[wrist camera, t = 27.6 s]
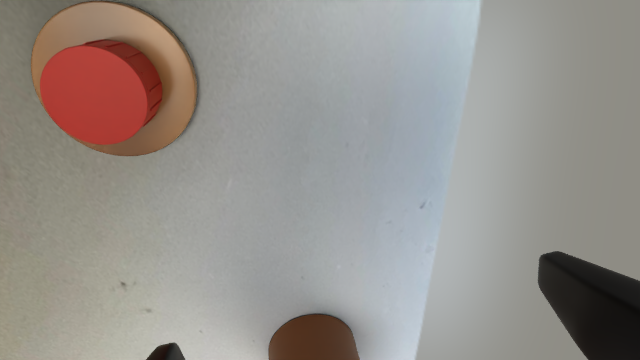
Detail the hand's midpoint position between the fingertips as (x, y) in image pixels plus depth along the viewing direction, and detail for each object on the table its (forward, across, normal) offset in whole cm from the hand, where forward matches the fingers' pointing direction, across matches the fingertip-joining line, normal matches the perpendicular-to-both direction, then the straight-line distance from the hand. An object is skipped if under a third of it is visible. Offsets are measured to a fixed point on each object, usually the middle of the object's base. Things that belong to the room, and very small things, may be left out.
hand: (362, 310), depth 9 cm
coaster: (+12, +8, -5) cm, 16 cm away
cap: (+10, +8, -5) cm, 13 cm away
